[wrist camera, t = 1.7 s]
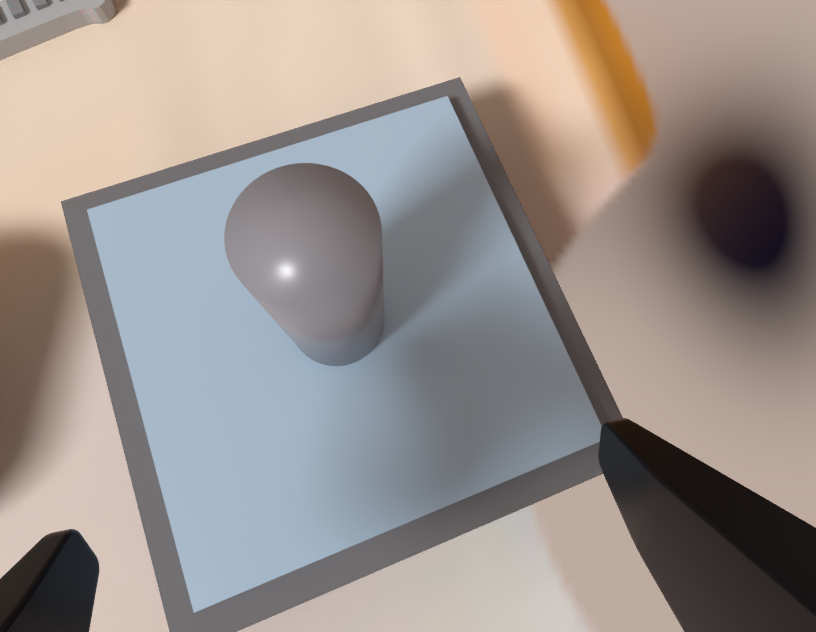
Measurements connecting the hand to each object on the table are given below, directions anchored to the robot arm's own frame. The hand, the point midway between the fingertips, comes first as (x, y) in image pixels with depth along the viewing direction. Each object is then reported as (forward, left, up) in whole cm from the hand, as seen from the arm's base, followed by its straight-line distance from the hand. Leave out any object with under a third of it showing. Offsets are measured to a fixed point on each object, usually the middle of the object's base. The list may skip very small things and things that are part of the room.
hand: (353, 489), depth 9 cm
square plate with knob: (+5, -1, -7) cm, 9 cm away
